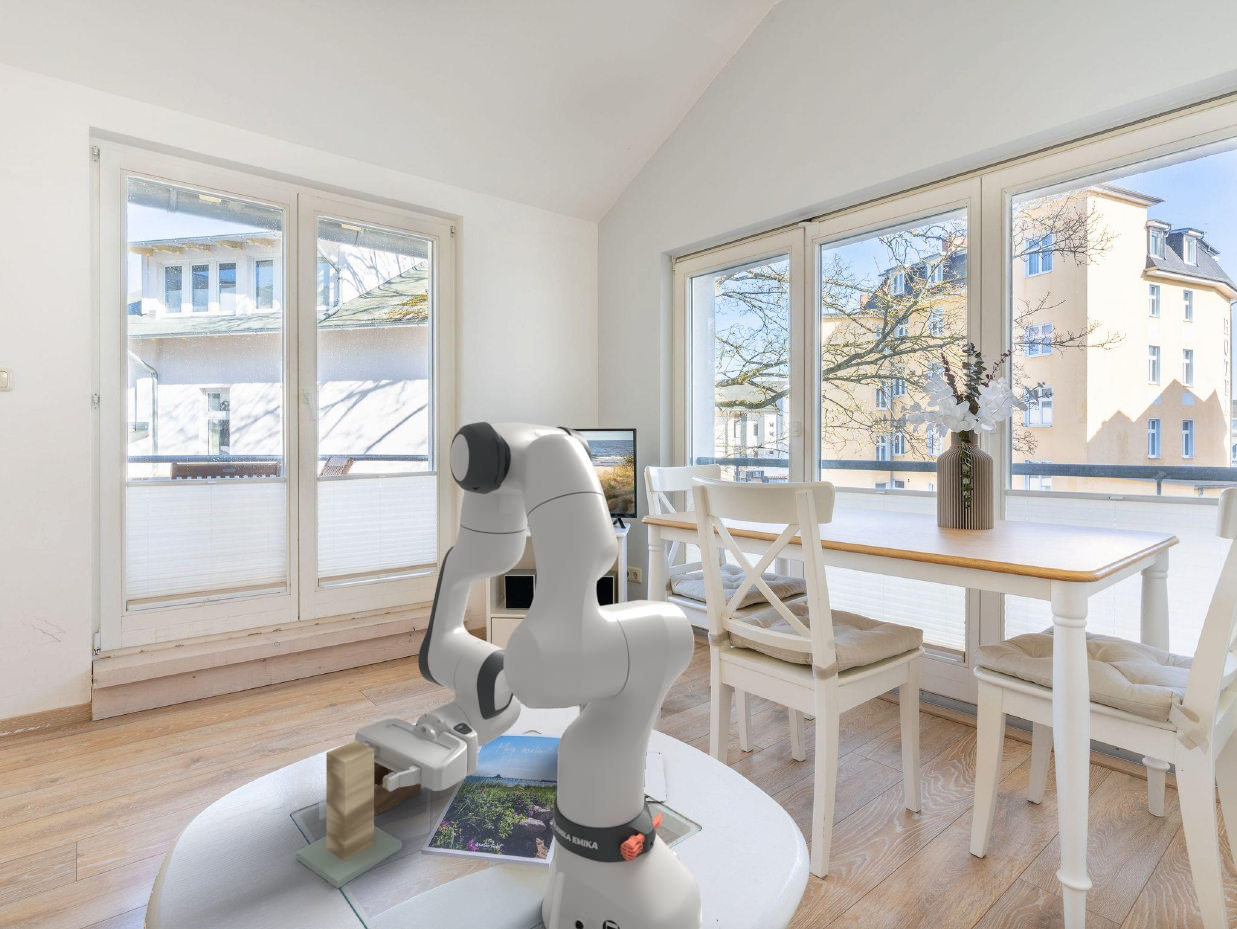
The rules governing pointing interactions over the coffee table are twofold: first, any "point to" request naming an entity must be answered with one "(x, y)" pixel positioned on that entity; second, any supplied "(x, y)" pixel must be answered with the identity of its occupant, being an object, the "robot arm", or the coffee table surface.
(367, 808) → the oak block
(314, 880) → the coffee table surface
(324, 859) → the pad
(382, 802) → the pocket
